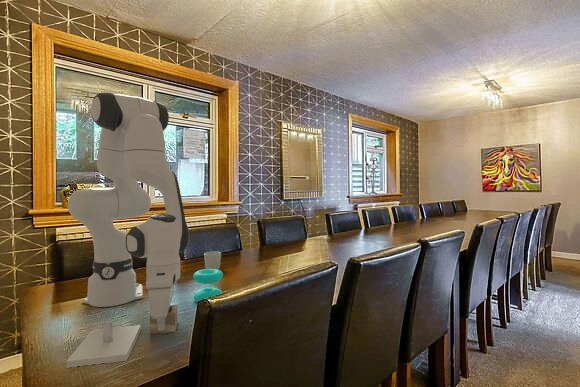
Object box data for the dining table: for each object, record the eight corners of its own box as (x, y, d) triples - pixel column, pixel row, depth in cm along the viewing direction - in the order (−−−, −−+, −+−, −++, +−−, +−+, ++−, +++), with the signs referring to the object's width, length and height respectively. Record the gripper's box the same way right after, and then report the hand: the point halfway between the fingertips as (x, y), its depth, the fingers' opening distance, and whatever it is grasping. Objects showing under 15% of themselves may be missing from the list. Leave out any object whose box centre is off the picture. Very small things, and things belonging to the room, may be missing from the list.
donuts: (189, 275, 107) (197, 268, 117) (190, 305, 107) (197, 295, 117) (220, 275, 107) (224, 267, 117) (220, 304, 108) (225, 294, 118)
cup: (203, 267, 158) (203, 250, 158) (219, 265, 161) (219, 249, 161) (204, 272, 148) (204, 255, 148) (222, 271, 151) (222, 254, 150)
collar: (153, 324, 92) (153, 307, 92) (177, 322, 94) (177, 304, 94) (149, 334, 86) (149, 315, 86) (175, 331, 88) (175, 313, 88)
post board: (91, 335, 86) (91, 312, 85) (140, 330, 89) (140, 308, 88) (66, 368, 70) (65, 340, 70) (126, 360, 73) (126, 334, 73)
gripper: (157, 264, 99) (157, 309, 99) (144, 284, 79) (145, 340, 79) (178, 263, 101) (179, 307, 101) (171, 282, 81) (172, 337, 81)
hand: (164, 322), depth 90 cm, fingers open, 8 cm apart
